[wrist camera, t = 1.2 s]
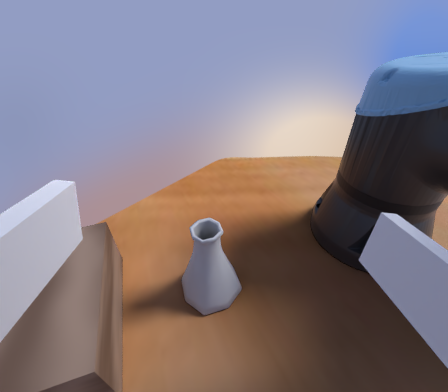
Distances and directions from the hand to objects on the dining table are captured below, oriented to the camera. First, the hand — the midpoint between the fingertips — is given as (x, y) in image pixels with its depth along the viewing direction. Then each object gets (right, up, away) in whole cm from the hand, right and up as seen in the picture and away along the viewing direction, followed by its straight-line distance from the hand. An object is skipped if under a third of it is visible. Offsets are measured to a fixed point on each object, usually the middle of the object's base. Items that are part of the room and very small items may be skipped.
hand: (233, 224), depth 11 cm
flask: (-2, -10, +19) cm, 22 cm away
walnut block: (-17, -13, +15) cm, 26 cm away
